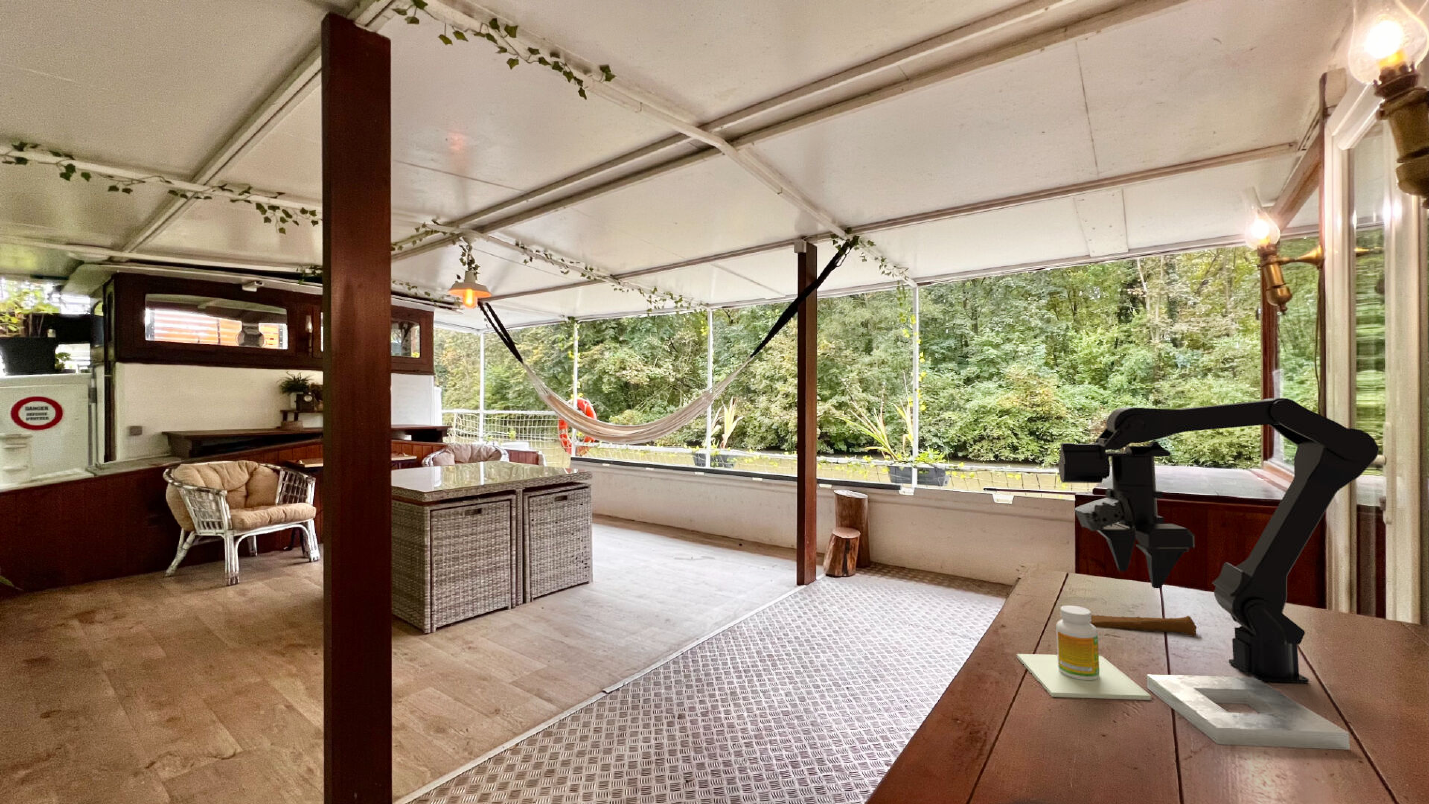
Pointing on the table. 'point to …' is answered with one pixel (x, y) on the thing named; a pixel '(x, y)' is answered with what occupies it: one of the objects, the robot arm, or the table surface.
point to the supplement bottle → (1077, 644)
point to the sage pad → (1061, 685)
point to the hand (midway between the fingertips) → (1138, 579)
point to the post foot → (1272, 727)
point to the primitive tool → (1147, 623)
